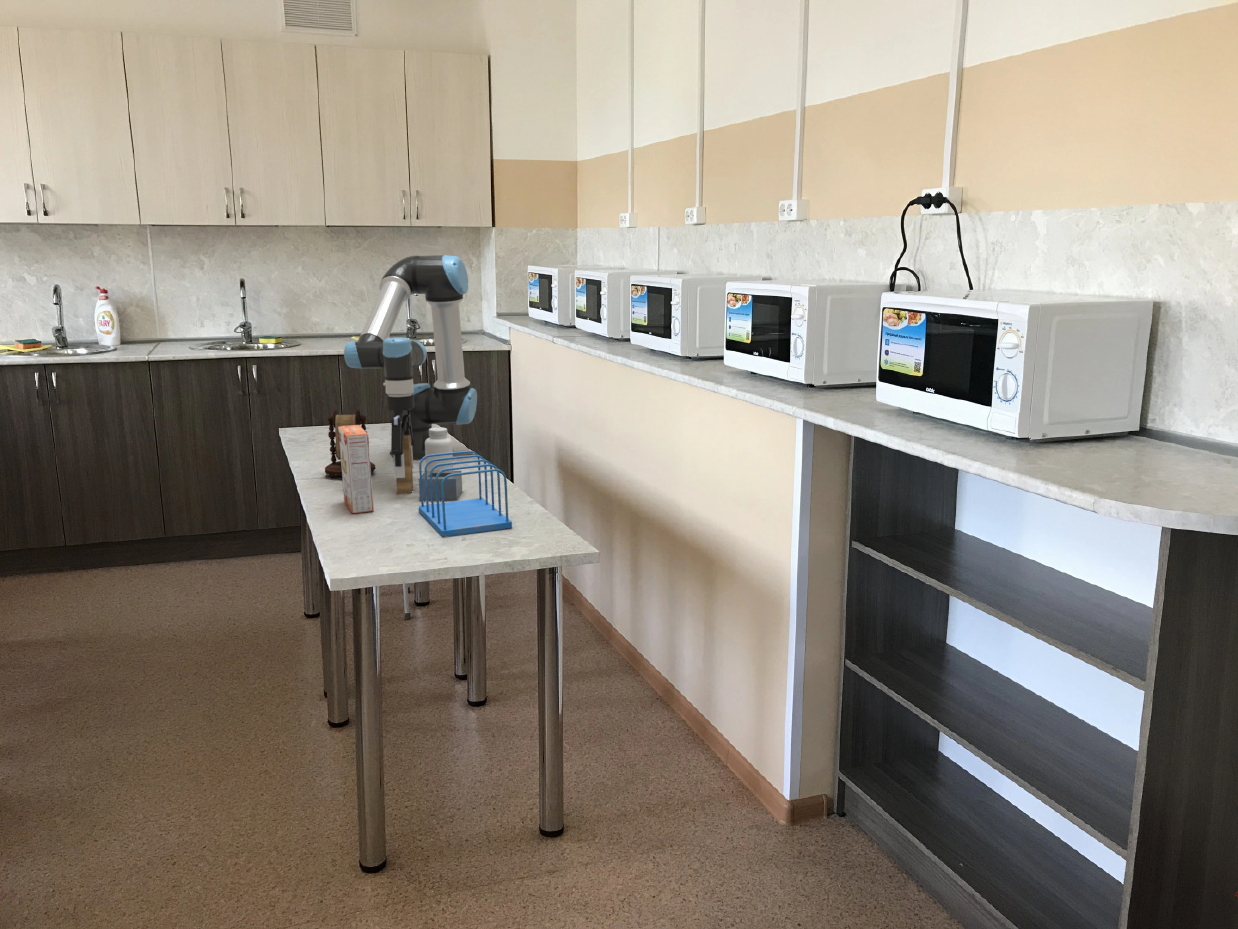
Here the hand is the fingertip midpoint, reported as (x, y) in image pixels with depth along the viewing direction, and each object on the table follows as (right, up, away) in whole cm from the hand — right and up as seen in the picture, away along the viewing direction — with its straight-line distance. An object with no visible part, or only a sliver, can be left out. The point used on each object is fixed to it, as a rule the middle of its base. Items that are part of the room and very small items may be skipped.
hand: (404, 472), depth 275 cm
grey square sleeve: (+11, -6, -4) cm, 13 cm away
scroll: (-21, -1, +23) cm, 31 cm away
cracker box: (-9, -9, -14) cm, 19 cm away
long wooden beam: (0, -5, +1) cm, 6 cm away
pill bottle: (+7, -2, +17) cm, 18 cm away
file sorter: (+21, -12, -27) cm, 37 cm away
